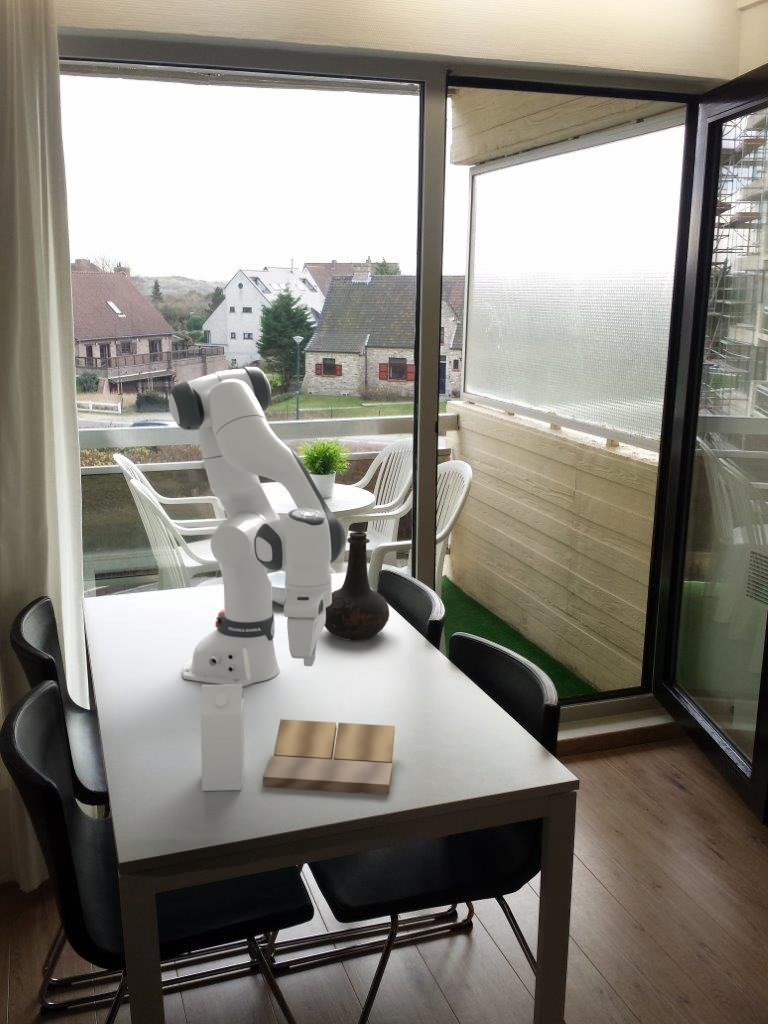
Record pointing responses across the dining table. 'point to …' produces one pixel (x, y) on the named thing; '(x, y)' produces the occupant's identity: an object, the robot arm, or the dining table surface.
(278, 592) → the cereal bowl
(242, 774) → the milk carton
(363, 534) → the dark brown round bottle
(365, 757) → the plank
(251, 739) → the dining table surface
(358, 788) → the base board
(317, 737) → the plank
